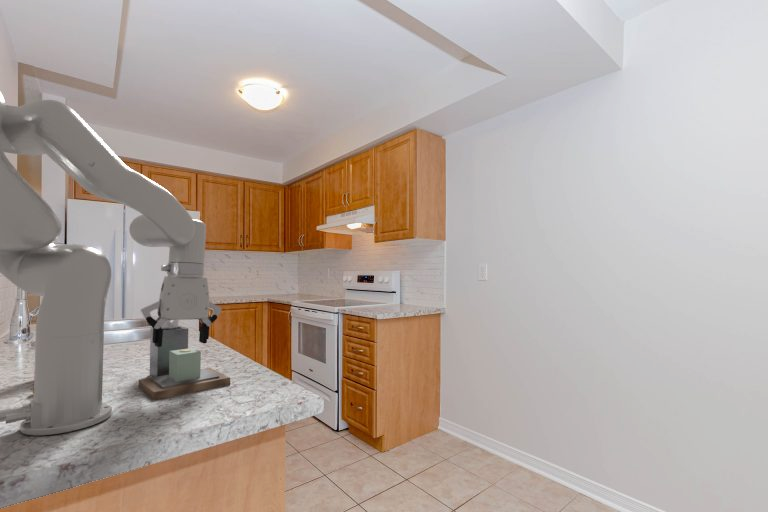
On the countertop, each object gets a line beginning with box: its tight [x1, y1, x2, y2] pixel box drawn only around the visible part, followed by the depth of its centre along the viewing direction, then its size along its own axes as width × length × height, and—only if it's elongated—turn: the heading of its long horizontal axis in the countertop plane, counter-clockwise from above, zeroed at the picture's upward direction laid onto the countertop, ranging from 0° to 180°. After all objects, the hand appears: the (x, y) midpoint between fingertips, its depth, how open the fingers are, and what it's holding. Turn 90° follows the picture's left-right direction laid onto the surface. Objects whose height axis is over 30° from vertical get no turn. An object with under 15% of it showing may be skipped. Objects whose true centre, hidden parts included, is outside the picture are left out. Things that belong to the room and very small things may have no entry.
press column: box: [149, 325, 189, 377], centre depth 100 cm, size 7×7×12 cm
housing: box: [169, 347, 202, 382], centre depth 90 cm, size 5×6×6 cm
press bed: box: [138, 367, 231, 401], centre depth 90 cm, size 16×13×2 cm
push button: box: [156, 308, 179, 330], centre depth 100 cm, size 6×6×9 cm
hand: (181, 344), depth 90 cm, fingers open, 9 cm apart
